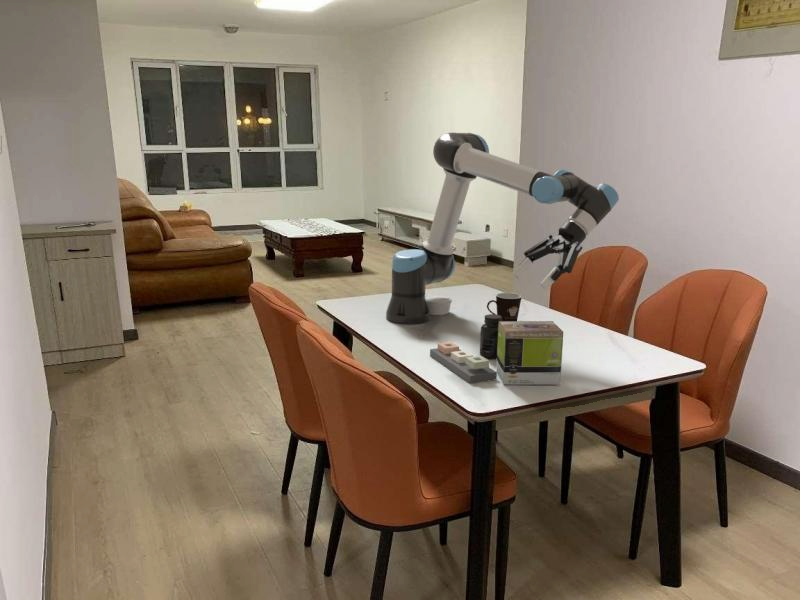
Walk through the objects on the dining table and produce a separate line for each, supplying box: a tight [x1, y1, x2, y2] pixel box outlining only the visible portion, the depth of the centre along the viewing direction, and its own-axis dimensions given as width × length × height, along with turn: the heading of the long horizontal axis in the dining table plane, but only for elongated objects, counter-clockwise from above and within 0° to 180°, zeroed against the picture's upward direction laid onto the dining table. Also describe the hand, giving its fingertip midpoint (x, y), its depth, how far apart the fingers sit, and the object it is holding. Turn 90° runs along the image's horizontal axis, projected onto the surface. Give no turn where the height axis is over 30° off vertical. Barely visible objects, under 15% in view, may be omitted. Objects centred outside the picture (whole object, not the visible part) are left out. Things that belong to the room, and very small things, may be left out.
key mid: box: [451, 350, 474, 363], centre depth 174 cm, size 4×4×2 cm
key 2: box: [465, 354, 490, 369], centre depth 167 cm, size 4×4×2 cm
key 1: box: [437, 341, 460, 354], centre depth 181 cm, size 4×4×2 cm
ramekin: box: [425, 294, 453, 316], centre depth 230 cm, size 11×11×5 cm
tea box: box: [496, 320, 564, 386], centre depth 166 cm, size 15×10×15 cm
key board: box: [429, 347, 498, 384], centre depth 175 cm, size 23×8×2 cm, turn 24°
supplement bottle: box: [479, 313, 502, 360], centre depth 183 cm, size 7×7×12 cm
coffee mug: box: [486, 292, 522, 321], centre depth 217 cm, size 12×9×10 cm
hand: (528, 281), depth 183 cm, fingers open, 13 cm apart
